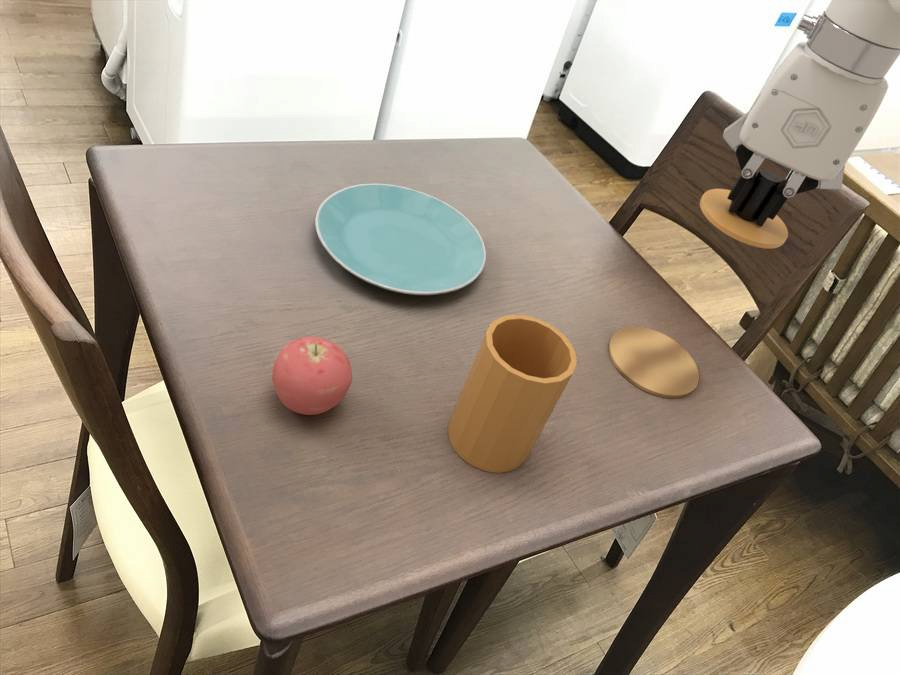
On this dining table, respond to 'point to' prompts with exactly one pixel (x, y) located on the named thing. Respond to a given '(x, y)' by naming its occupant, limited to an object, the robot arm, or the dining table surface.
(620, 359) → the coaster
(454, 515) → the dining table surface
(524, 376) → the cup
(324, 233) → the plate
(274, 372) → the apple
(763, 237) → the shaker lid
